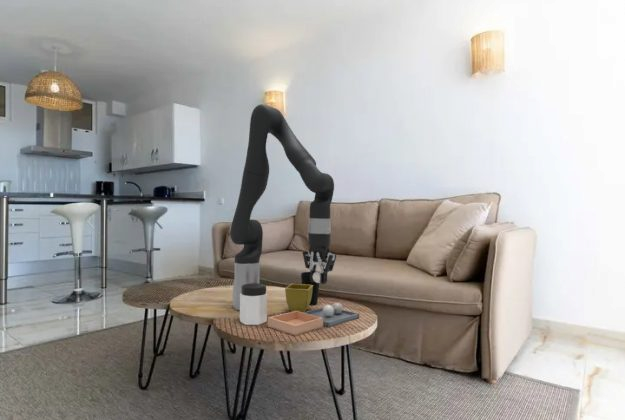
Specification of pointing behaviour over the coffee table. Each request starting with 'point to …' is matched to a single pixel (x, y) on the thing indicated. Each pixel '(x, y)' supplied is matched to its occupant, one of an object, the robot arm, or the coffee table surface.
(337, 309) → the pebble
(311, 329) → the dish
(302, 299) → the flower pot
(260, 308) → the jar
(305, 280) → the cup
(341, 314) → the tray
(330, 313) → the pebble
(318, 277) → the white ball
